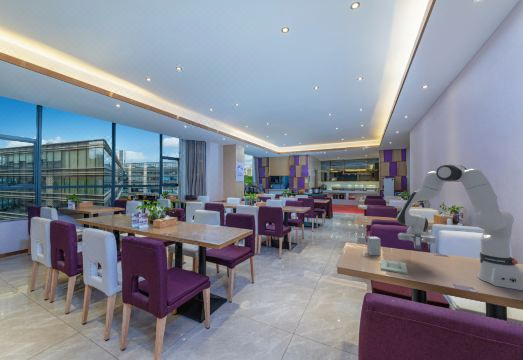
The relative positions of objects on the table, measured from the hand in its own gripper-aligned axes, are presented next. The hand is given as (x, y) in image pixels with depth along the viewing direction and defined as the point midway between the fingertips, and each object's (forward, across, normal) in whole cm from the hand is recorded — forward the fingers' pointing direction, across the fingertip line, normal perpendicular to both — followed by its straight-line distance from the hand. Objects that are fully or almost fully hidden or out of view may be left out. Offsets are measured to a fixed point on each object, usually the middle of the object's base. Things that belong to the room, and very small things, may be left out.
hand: (417, 240), depth 140 cm
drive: (-1, 0, +5) cm, 5 cm away
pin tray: (+3, -13, +18) cm, 23 cm away
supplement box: (-20, -26, +18) cm, 38 cm away
